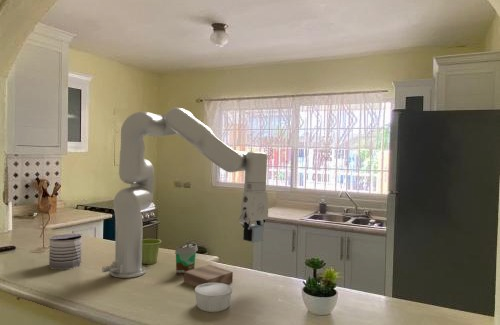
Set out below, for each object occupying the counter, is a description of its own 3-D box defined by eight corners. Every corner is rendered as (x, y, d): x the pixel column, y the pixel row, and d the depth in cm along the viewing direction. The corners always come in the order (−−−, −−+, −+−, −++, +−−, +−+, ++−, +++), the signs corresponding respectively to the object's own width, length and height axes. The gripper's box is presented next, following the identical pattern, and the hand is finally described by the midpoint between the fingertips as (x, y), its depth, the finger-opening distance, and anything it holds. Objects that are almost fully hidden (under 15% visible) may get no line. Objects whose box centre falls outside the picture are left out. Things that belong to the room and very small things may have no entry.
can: (57, 271, 138) (58, 239, 138) (43, 265, 145) (44, 234, 145) (87, 265, 147) (87, 234, 147) (72, 259, 154) (73, 230, 154)
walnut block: (207, 292, 123) (207, 280, 123) (183, 283, 131) (184, 271, 131) (232, 283, 132) (232, 271, 132) (208, 275, 140) (209, 264, 140)
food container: (190, 277, 136) (191, 249, 136) (174, 275, 137) (175, 248, 137) (201, 267, 148) (202, 242, 148) (186, 265, 149) (187, 240, 149)
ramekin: (213, 296, 119) (213, 279, 119) (239, 305, 112) (240, 288, 112) (186, 306, 110) (186, 288, 110) (213, 317, 103) (213, 298, 103)
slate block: (253, 242, 127) (254, 228, 127) (242, 239, 131) (243, 225, 131) (262, 240, 131) (263, 226, 131) (252, 237, 134) (252, 224, 134)
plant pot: (133, 261, 154) (133, 240, 153) (155, 258, 159) (155, 237, 159) (142, 267, 146) (142, 245, 146) (164, 263, 152) (165, 242, 152)
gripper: (247, 189, 122) (244, 245, 122) (278, 187, 135) (276, 237, 135) (230, 187, 126) (228, 240, 127) (261, 185, 139) (259, 234, 140)
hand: (252, 238), depth 131 cm, fingers closed on slate block, 5 cm apart
